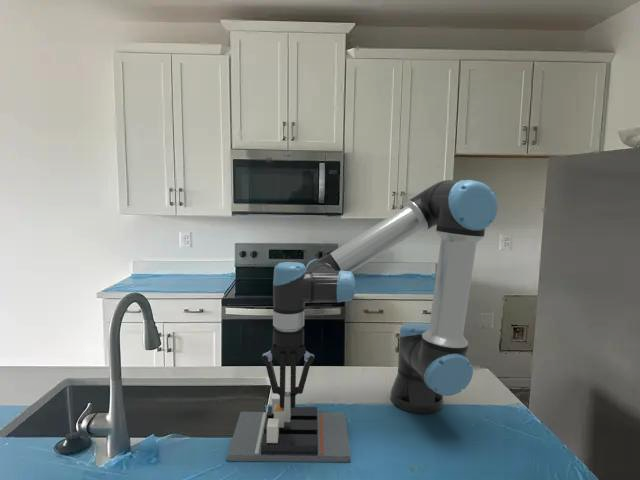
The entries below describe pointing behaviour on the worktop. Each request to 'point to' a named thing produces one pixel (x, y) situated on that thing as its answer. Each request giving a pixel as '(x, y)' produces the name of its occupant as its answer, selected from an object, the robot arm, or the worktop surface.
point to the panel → (251, 435)
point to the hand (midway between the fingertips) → (287, 419)
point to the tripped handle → (279, 415)
